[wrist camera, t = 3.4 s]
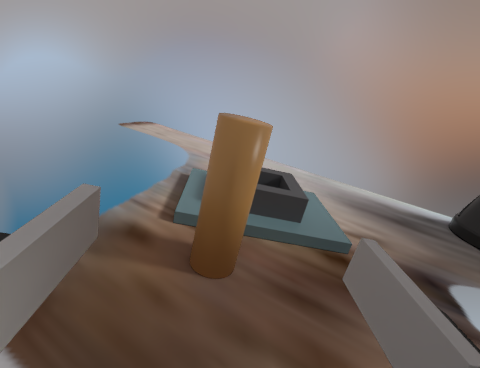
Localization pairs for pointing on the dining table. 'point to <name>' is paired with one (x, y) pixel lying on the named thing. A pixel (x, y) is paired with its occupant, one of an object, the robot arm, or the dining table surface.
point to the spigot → (228, 193)
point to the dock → (271, 227)
